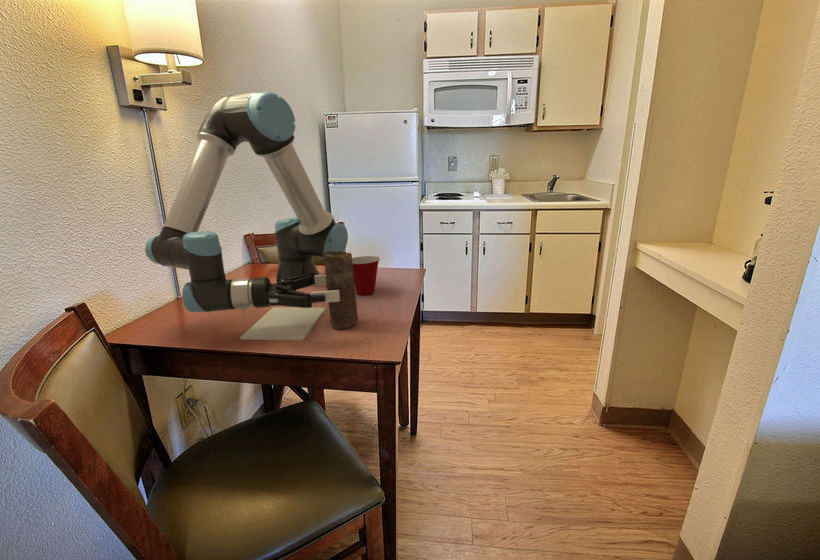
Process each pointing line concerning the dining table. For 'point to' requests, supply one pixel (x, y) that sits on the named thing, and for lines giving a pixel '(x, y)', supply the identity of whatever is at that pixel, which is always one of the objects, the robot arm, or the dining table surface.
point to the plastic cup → (365, 274)
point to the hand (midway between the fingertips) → (339, 286)
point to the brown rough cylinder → (341, 288)
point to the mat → (284, 324)
